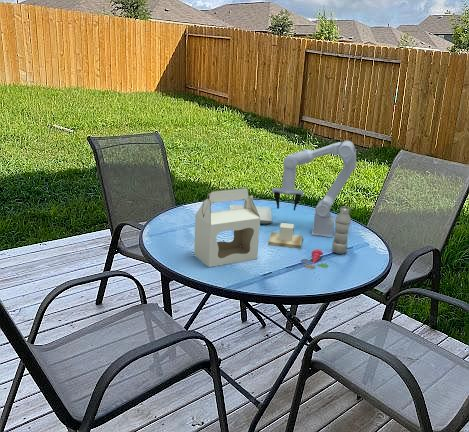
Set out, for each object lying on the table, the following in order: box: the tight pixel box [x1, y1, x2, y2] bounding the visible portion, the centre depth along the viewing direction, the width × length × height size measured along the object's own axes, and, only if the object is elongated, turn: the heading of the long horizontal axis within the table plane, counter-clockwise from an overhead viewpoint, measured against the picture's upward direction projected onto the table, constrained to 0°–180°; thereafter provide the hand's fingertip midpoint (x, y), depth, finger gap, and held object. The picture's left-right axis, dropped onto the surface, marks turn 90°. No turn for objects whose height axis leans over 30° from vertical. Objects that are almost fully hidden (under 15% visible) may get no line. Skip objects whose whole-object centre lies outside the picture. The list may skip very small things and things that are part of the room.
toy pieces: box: [300, 248, 329, 270], centre depth 192 cm, size 12×11×4 cm
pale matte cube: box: [278, 222, 295, 242], centre depth 211 cm, size 6×6×6 cm
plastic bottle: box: [331, 205, 352, 255], centre depth 201 cm, size 6×7×20 cm
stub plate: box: [267, 231, 303, 250], centre depth 211 cm, size 14×12×5 cm
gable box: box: [193, 187, 261, 268], centre depth 188 cm, size 22×13×28 cm, turn 119°
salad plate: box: [229, 204, 273, 225], centre depth 240 cm, size 21×21×3 cm
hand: (286, 208), depth 226 cm, fingers open, 7 cm apart
